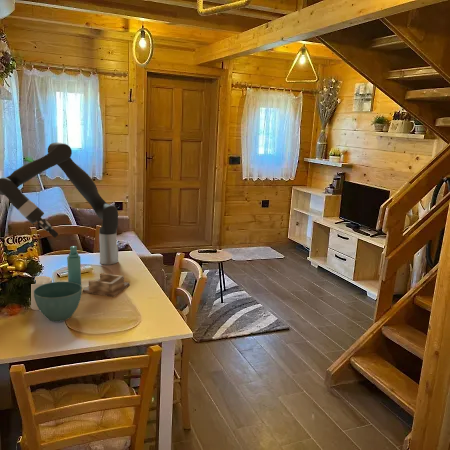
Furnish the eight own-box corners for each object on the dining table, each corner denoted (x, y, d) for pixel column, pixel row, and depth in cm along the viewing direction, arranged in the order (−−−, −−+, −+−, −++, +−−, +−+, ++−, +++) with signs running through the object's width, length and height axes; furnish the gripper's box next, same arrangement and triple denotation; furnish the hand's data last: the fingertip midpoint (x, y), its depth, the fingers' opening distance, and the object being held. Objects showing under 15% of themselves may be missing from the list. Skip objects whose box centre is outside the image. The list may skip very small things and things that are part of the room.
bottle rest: (82, 292, 214) (82, 281, 212) (100, 281, 229) (99, 271, 228) (114, 296, 210) (113, 285, 209) (129, 285, 225) (129, 275, 224)
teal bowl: (25, 320, 183) (23, 291, 180) (60, 305, 198) (59, 278, 196) (57, 331, 174) (56, 301, 172) (92, 314, 190) (91, 286, 187)
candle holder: (48, 311, 191) (46, 284, 189) (24, 310, 191) (23, 283, 189) (56, 302, 201) (55, 276, 198) (34, 301, 201) (33, 275, 198)
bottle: (75, 281, 227) (74, 244, 223) (83, 284, 224) (82, 246, 220) (65, 284, 222) (64, 246, 218) (73, 287, 219) (72, 249, 215)
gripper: (36, 206, 210) (62, 231, 215) (37, 206, 224) (62, 229, 228) (23, 217, 209) (50, 242, 213) (26, 217, 222) (51, 240, 226)
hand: (56, 235), depth 221 cm, fingers open, 8 cm apart
